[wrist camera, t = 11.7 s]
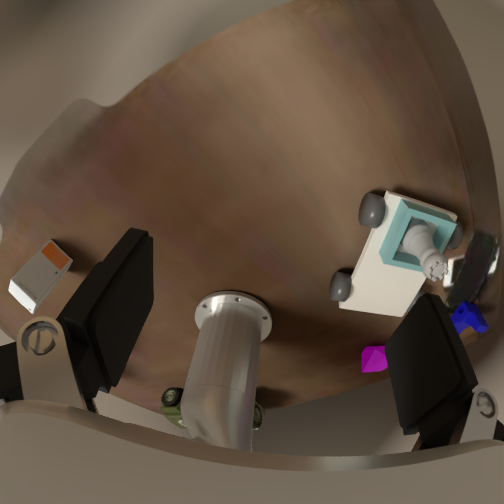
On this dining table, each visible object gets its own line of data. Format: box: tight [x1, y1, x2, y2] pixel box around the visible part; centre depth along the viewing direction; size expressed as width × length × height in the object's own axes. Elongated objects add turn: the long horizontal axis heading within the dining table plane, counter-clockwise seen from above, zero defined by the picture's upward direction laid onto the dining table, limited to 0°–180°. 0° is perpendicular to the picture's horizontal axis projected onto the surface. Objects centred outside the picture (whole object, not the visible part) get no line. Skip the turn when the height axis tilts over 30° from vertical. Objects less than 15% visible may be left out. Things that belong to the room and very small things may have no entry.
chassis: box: [329, 190, 463, 317], centre depth 36 cm, size 18×15×6 cm
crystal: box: [361, 346, 388, 373], centre depth 48 cm, size 5×5×5 cm
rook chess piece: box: [400, 219, 448, 282], centre depth 29 cm, size 4×4×8 cm
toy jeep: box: [161, 387, 265, 430], centre depth 60 cm, size 12×25×11 cm, turn 115°
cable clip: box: [450, 301, 488, 335], centre depth 43 cm, size 12×4×6 cm, turn 164°
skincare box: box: [9, 240, 73, 314], centre depth 39 cm, size 6×4×12 cm
